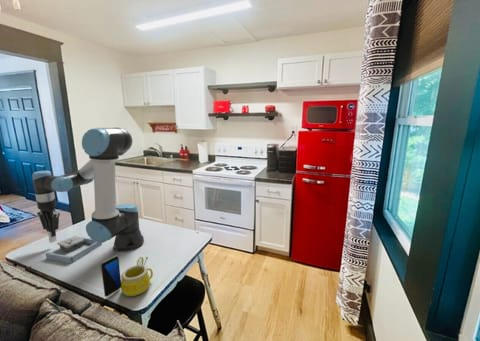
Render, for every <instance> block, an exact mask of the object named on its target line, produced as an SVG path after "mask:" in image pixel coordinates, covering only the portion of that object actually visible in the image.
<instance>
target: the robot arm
mask: <svg viewBox="0 0 480 341" xmlns="http://www.w3.org/2000/svg"><path fill="white" fill-rule="evenodd" d="M132 145H133V137H132V135H131V134H130V132H129V131H128V130H126V129H124V128H122V127H96V128H94V127H93V128H90V129H88V130H87V131H86V132H85V133H84V134H83V136H82V139H81V147H82V150H84V153H85V154H87V155H88V158H89V159H90V160H88V161H87V162H86V163H85V164H84V165H83V166H82V167H80V169H78V170H77V171H75V172H72V173H71V172H70V173H67V174H62V175H58V176H57V175H52V172H51V171H50V170H38V171H35V172H33V173H32V183H33V184H32V185H33V189H34V193H35V194H34V195H35V200H36V204H37V209H38V210H39V211H38V212H36V214H37V216H38V218H39V220H40V222H41V223H40V224H41V225H42V229H43V230H46V232H47V236H48V237H47V238H48V242H49V243H51V244H53V243H55V242H56V241H57V233H56V232H57V231H56V230H59V226H60V225H59V224H60V216H61V214H60V212H58V213H57V211H56V208H55V207H56V206H57V202H56V197H55V196H56V195H55V192H57V193H66V192H69V191H70V190H71V189H72V188H77V187H79V186H83V185H88V184H90V183H92V182H93V186H94V187H93V188H94V211H93V212H92V213H91V221H89V222H88V223H87V224H86V226H85V232H86V234H87V236H88V238H90V239H92V240H93V241H95V242H98V243H102V244H103V243H105V242H107V241H110V240H111V239H112V238H114V241H113V248H114V250H115V251H116V252H117V251H118V252H128V251H134V250H136V249H138V248H140V247H142V246H143V245H144V243H145V240H144V238H145V237H144V235H142V234H143V233H142V232H141V229H140V219H139V208H138V206H137V205H136V204H133V203H121V204H116V203H117V202H116V200H117V198H116V197H117V196H116V194H117V193H116V191H117V190H116V161H118V160H119V156H124V154H126V153H127V152H128V151H129V150H130V149H131V148H132ZM57 242H58V241H57Z"/></svg>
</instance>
